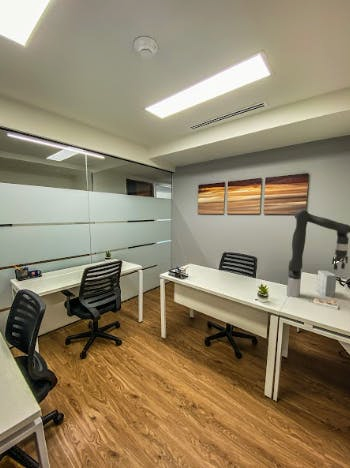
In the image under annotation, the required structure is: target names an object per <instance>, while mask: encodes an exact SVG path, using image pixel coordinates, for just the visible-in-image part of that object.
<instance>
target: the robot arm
mask: <svg viewBox="0 0 350 468" xmlns="http://www.w3.org/2000/svg"><path fill="white" fill-rule="evenodd" d="M293 215H294V219H295V220H296V223H295V226H296V227H295V229H294V232H293V234H292V240H291V241H292V242H291V251H292V252H291V253H292V256H291V259H290V260H289V262H288V279H287V280H288V282H287V284H286V296H287V297H288V298H291V297H292V298H300V296H301V282H302V269H303V255H304V251H305V245H306V238H307V237H306V236H307V226H308V223H310V224H314V225H317V226H319V227H323V228H325V229H329V230H332V231H336V236H337V238H336V244H335V250H334V251H335V252H334V254H335V255H336V256H333V257H332V262H331V264H332V265H333V270H336V271H337V270H338V266H339V264H341V265H340V266H341V267H340V268H341V269H342V270H345V268H346V264H348V262H349V256H348V253H349V239H350V238H349V236H348V234H349V233H350V225H349V224H346V223H341V222H338V221H335V220H333V219H329V218H325V217H322V216H319V215H318V216H317V215H315V214H314V215H313V214H311V213H309V212H308V211H307V210H305V209H299V210H297V211H295V213H294V214H293Z"/></svg>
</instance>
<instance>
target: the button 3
mask: <svg viewBox="0 0 350 468" xmlns="http://www.w3.org/2000/svg"><path fill="white" fill-rule="evenodd" d="M330 302H331V305H334V306H336V303H337V300H336V299H331V300H330Z"/></svg>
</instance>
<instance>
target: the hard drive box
mask: <svg viewBox="0 0 350 468" xmlns="http://www.w3.org/2000/svg"><path fill="white" fill-rule="evenodd" d="M337 277H338V276H337V275H335V274H334V273H332V272H330V271H328V270H318V271H317V282H316V283H317V285H316V291H317V293H318V294H320V295H321V296H323V297H328V298H332V299H335V298H336V285H337Z"/></svg>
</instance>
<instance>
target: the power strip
mask: <svg viewBox="0 0 350 468" xmlns="http://www.w3.org/2000/svg"><path fill="white" fill-rule="evenodd" d="M316 299H317V298H314V299H313V301H310V300H309V301H308V302H309V303H312V304H313V305H316V306H320V307H324V308H329V309H334V310H337V311H338V309H339V304H338V303H337V302H336V306H334V305H331V301H328V304H325V303H323V300H324V299H323V300H322V299H320V300H321V303H320V302H316Z"/></svg>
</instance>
